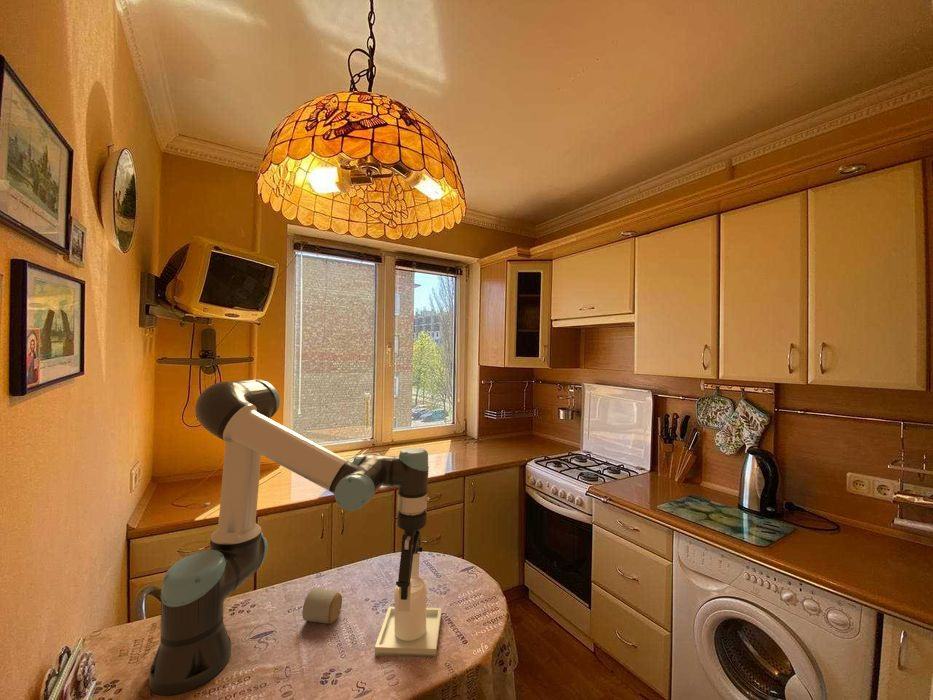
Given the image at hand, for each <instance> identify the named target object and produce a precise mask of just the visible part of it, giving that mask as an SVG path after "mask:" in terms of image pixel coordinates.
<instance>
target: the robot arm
mask: <svg viewBox="0 0 933 700" xmlns="http://www.w3.org/2000/svg"><path fill="white" fill-rule="evenodd" d="M279 394H280V393H278V390H277V389H276V388H275V386H274V385H272V384H271V383H270V382H269V381H268V380H267V381H265V380H264V379H256V378H255V379H254V378H250V379H249V378H245V379H239V380H238V379H237V380H231V381H228V380H227V381H220V382H217V383H213V384H212V385H210V386H208V387H206V388H205V389H203V391H202V392H201V393H200V395H199V396H198V398H197V400H196V402H195V406H194V408H195V409H194V412H195V416H196V418H197V421H198V423H199V424H200V426H202V428H204V429H205V430H206V431H207V432H209V433H210V434H212V435H213V436H215V437H217V438H218V439H221V440H222V441H223V442H225V444H224V454H223V455H224V456H223V464H222V465H223V467H222V475H221V476H222V480H221V490H220V491H221V492H220V500H219V501H220V502H219V513H218V514H219V515H218V525H217V528H216V529H215V530H214V531H213V532H212V533H211V534H210V539H209V540H210V541H209V547H208V548H209V549H205V550H201V551H197V552H194V554H192V555H191V554H190V555H187V556H185V557H183V558H181V559H179V560H178V561H176V562H175V563H174V564H173V565H171V567H169V568H168V570H167V571H166V572H165V573H164V577H163V578H162V585H161V590H160V643H159V646H158V648H157V650H156V653H155V655H154V658H153V660H152V664H151V666H150V670H149V674H148V686H149V690H151V692H153V694H154V693H155V694H157V695H159V696H160V695H161V696H174V695H179V694H182V693H183V694H184V693H185V692H189V691H191V690H194V689H196V688H198V687H200V686H203V685H204V684H205V683H207V682H208V681H210V680H211V679H213V678H214V677H216V676H217V675H219V674H220V672H221V671H222V670H223V669H224V668H225V667H226V666H227V664H228V663H229V661H230V658H231V656H232V640H231V637H230V636H229V634H228V630H227V629H226V625H225V623H224V608H225V607H224V603H225V601H226V600H227V598H228V597H230V596H231V594H233V593H234V592H235V591H237V589H239V588H240V587H241V586H242V585H243V584H244V583H245V582H246V581H247V580H248V579H250V578H251V577H252V576H253V575H254V574H256V573H257V571H258V570H259V568H260V567H261V566H262V565H263V563H264V561H265V559H266V558H267V555H268V551H269V549H268V548H269V545H268V540H267V538H266V537H264V535H265V534H264V533H263V532H262V527H261V525H259V524H258V523H257V512H258V511H257V510H258V498H259V487H260V485H259V484H260V473H261V464H262V463H261V461H262V456H263V457H264V458H266V459H268V460H270V461H272V462H274V463H276V464H277V465H280V466H281V467H283V468H285V469H287V470H289V471H291V472H292V473H295V474H297V475H298V476H300V477H302V478H304V479H306V480H308V481H309V482H311V483H313V484H315V485H317V486H319V487H321V488H322V489H325V490H327V491H329V492H330V493H332V494H333V495H334V499H335V501H336V503H337V505H338V506H339V508H341V509H342V510H345V511H348V512H355V511H359V510H360V509H362V508H363V507H365V506H366V505H367V504H368V503H369V502H370V501H371V500H372V499H373V497H374V496H375V494H376V493H377V492H378V491H379V490H380V489H381V487H397V490H398V491H397V507H396V508H397V512H396V513H397V514H396V515H397V518H396V525H397V527H398V528H399V529H401V530H403V532H404V533H402V539H401V549H400V550H401V552H400V560H399V571H398V576H397V577H398V579H397V581H395V585H396V586H398V587H399V606H398V611H405V612H410V599H411V582H410V579H411V576H416V577H420V575H419V574H420V554H421V553H423V546H422V547H421V545H422V541H421V540H422V539H421V529H424V527H425V526H426V525H427V520H428V519H427V518H428V517H427V516H428V515H427V513H428V511H427V508H428V506H427V505H428V502H429V501H430V497H429V496H428V488H429V487H428V484H429V468H430V466H429V453H428V451H427V450H426V449H425V448H421V447H406V448H405V447H404V448H403V449H401V450H400V451H399V455H381V454H371V453H367V454H359V455H356V456H355V457H354V458H353V461H352V462H351V461H349V460H347V459H346V458H344V457H342V456H340V455H339V454H336V453H335V452H333V451H331V450H329V449H327V448H325V447H323V446H321V445H320V444H318V443H315V442H314V441H312V440H310V439H308V438H306V437H305V436H303V435H301V434H299V433H297V432H296V431H294V430H291V429H290V428H288V427H286V426H284V425H282V424H280V423H278V422H276V421H275V420H273V419H272V418H273V416H275V414H276V413H277V412H278V410H279V408H280V405H281V399H280V395H279Z"/></svg>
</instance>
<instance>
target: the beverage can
mask: <svg viewBox="0 0 933 700" xmlns="http://www.w3.org/2000/svg"><path fill="white" fill-rule="evenodd" d="M410 582H411V599H410V612H405V611H398V606H399V587H398V586H397V585H396V586H395V588H394V607H395V635H396V636H397V637H398V638H399V639H401V640H405V641H412V640H416V639H418V638H420V637H421V636H422V635H423V634H424V633H425V631H426V608H427V585H426V584H425V581H424V579H423V578H421V577H420V576H419V577H416V576H411V579H410Z"/></svg>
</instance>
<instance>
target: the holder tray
mask: <svg viewBox="0 0 933 700" xmlns="http://www.w3.org/2000/svg"><path fill="white" fill-rule="evenodd" d="M442 610H443V609H442V607H426V631H425V633H424V634H423V635H422V636H421V637H420V638H418V639H416V640H412V641H405V640H401V639H399V638H398V637H397V636H396V635H395V606H388V609H387V611H386V615H385V616H384V620H383V623H382V626H381V628H380V632H379V635H378V637H377V640H376V643H375V646H374V656H377V657H402V658H403V657H404V658H407V657H411V658H436V659H437V651H438V645H439V636H440V630H441V623H442V622H441V621H442Z"/></svg>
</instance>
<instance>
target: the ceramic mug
mask: <svg viewBox="0 0 933 700" xmlns="http://www.w3.org/2000/svg"><path fill="white" fill-rule="evenodd" d="M342 605H343V596H342V594H341V593H340V592H338V591H335V590H331V589H326V588H322V587H318V586H315V587H313V588H311V589H310V590H309V592H308V593H307V595H306V597H305V599H304V602H303V606H302V612H301V613H302V619H303V620H304V621H306V622H313V623H321V624H332V623H334V622H335V621H336V620H337V618H338V617H339V615H340V612H341V609H342Z"/></svg>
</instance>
